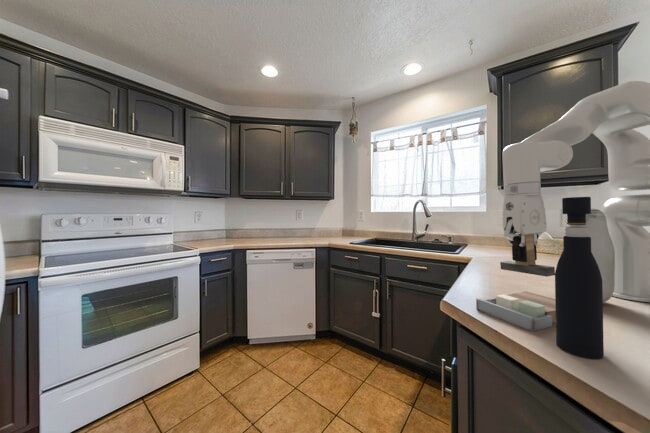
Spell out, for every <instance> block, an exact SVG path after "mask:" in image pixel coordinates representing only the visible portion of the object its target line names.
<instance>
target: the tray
mask: <svg viewBox="0 0 650 433" xmlns="http://www.w3.org/2000/svg"><path fill="white" fill-rule="evenodd" d="M475 301H476V302H475V303H476V305H475V306H476V308H475V309H476V310H478V311H479V312H482V313H485V314H487V315H491V316H493V317H496V318H498V319H500V320H503V321H505V322H508V323H511V324H513V325H516V326H517V327H521V328H523V329H525V330H528V331H530V332H535V331H540V330H543V329H547V328H551V327H553V323H552V316H550V315H546V316H541V317H537V318H534V317H531V316H528V315H525V314H522V313H519V312H517V311H514V310H511V309H508V308H505V307H502V306H499V305H496V297H489V298H484V299H481V298H479V297H478V298H476V299H475Z"/></svg>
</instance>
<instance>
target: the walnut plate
mask: <svg viewBox="0 0 650 433" xmlns="http://www.w3.org/2000/svg"><path fill="white" fill-rule="evenodd" d="M507 295H508V296H511V297H514V298H518V299H519V302H521V301H526V300H527V301H530V302H534V303H537V304H540V305H544V306H545V316H546V315H550V316H552V324H556V305H555V298H552V297H549V296H544V295H541V294H537V293H534V292H533V293H532V292H529V291H521V292H516V293H510V294H507Z"/></svg>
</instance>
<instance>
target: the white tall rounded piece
mask: <svg viewBox="0 0 650 433" xmlns="http://www.w3.org/2000/svg"><path fill="white" fill-rule="evenodd" d="M567 227H588V230H589V231H588V233H589V235H588V237H591V252H592V254H593V256H594V258H595V260H596V262H597V264H598V266H599V270H600V273H601V277H602V287H603V303H605V302H608V301H609V300H610V299H611V298H612V297H613V296H612V295H613V293H614V287H615V252H614V246H613V243H612V240H611V238H610V235H609V232H608V227H607V222H606V217H605V215H604V213H603V212H602V211H601V210H600V209H598V208H593V207H591V214H586V225H568V226H567ZM563 250H564V248H562V251H563Z"/></svg>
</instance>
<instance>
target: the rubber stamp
mask: <svg viewBox="0 0 650 433" xmlns="http://www.w3.org/2000/svg"><path fill="white" fill-rule="evenodd" d="M516 237H518V239H519V236H516ZM524 246H525V247H526V248H527V262H520V261H510V260H504V261H500V263H499V264H500V270H504V271H510V272H517V273H521V274H529V275H536V276H541V277H551V276H555V272H556V267H555V266H553V265H551V266H550V265H541V264H536V260H535V251H534V240H533V234H529V235H525V245H524Z"/></svg>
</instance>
